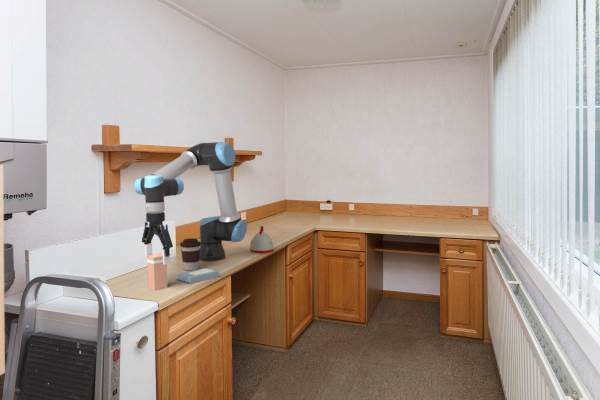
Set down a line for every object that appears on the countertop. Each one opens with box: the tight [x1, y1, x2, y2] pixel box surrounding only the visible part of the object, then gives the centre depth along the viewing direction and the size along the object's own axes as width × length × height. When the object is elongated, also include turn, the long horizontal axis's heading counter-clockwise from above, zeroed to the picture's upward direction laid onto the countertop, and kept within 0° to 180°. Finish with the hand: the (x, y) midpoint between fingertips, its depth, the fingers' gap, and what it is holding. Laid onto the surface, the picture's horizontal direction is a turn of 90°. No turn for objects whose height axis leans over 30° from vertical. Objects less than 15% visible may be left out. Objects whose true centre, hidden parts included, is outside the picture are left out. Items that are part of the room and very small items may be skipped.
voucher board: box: [176, 267, 220, 285], centre depth 206 cm, size 17×10×3 cm, turn 139°
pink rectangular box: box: [147, 253, 168, 292], centre depth 190 cm, size 6×5×14 cm
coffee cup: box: [179, 238, 201, 272], centre depth 222 cm, size 10×10×15 cm
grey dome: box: [249, 225, 274, 254], centre depth 266 cm, size 14×14×15 cm
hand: (157, 261), depth 190 cm, fingers open, 13 cm apart
